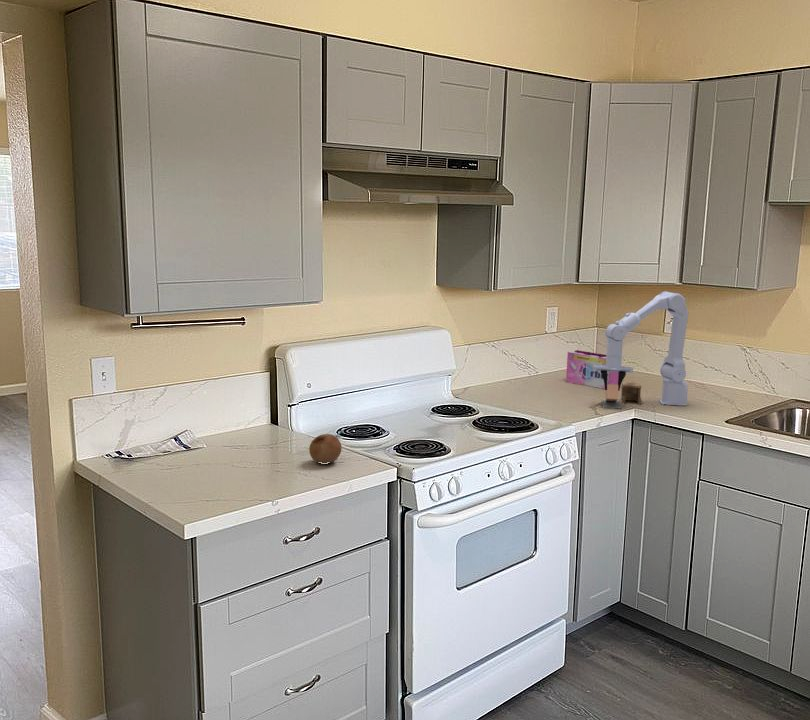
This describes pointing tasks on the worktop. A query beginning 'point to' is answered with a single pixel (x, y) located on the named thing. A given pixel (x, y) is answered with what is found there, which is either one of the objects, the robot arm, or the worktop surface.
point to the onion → (325, 448)
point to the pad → (611, 404)
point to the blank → (612, 393)
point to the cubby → (631, 392)
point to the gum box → (588, 369)
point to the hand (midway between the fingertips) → (612, 390)
